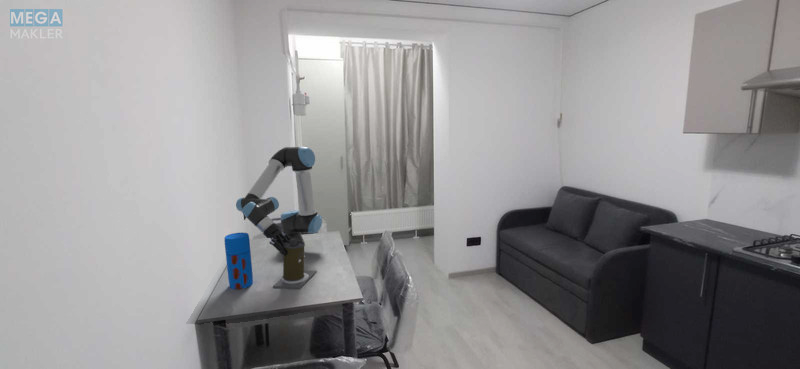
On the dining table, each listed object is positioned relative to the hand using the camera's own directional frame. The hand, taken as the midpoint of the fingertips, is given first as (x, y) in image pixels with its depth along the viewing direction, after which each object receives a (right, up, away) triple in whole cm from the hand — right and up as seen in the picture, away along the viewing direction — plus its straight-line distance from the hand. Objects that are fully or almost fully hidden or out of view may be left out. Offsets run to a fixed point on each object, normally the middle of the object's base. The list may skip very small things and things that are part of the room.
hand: (301, 260), depth 175 cm
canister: (-5, -9, +2) cm, 10 cm away
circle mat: (-3, -10, +2) cm, 11 cm away
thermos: (-29, -12, -2) cm, 31 cm away
